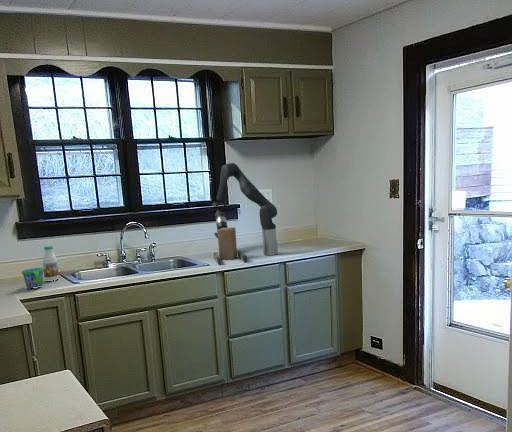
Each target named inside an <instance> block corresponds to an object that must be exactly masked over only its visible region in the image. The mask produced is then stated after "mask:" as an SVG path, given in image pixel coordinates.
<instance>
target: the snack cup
mask: <svg viewBox="0 0 512 432" xmlns="http://www.w3.org/2000/svg"><path fill="white" fill-rule="evenodd" d="M21 274H22V276H23V278H24V279H23V280H24V282H25V287H26V289H27V288H33V287H38V286H41V285H42V286H43V282H44V281H43V279H44V269H43V267H35V268H34V267H33V268H28V269H24V270H21Z"/></svg>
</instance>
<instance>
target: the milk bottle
mask: <svg viewBox="0 0 512 432" xmlns="http://www.w3.org/2000/svg"><path fill="white" fill-rule="evenodd" d="M43 249H44V255H43V259H42V268H43V269H44V271H43V279H44V281H45V280H54V279H58V278H59V279H60V275H59V274H60V273H59V264H58V259H57V256H56V255H55V252H54V246H53V245H46V246H44V247H43Z"/></svg>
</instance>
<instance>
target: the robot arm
mask: <svg viewBox="0 0 512 432" xmlns="http://www.w3.org/2000/svg"><path fill="white" fill-rule="evenodd" d="M232 177H233V178H235V179H236V181H238V183H239V189H240V191H241V193H242V195H244V196H245V197H246V198H247V199H248V200H250V201H251V202H253V203H255V204H256V205H258V206H259V207H260V208H259V221H260V222H259V223H260V226H261V231H262V232H261V233H262V247H263V248H262V250H263V251H262V253H263V256H275V255H278V254H279V247H278V239H277V226H276V224H275V223H274V222H273V219H274V218H276V217H277V216H278V209H277V207H276V206H275V204H273V203H272V202H271V201H270V200H269V199H267V198H266V197H265V196H264V195H263V193H261V192H260V191H259V189H258V188H257V187H256V186H255V185H254V183H252V182H251V181H250V180H249V179H248V177H247V176H246V175H245V174H244V173H243V171H242V170H241V169H240V167H239V165H237V164H236V163H235V162H229V163H225V164H224V165H222V166H221V170H220V178H219V187H218V190H217V195H216V200H217V201H218V202H220V203H218V202H217V201H213V202H212V203H211V206H212V205H213V206H218V205H224V206H225V205H226V206H227V199H228V198H227V197H228V194H229V187H228V181H229V178H232ZM214 216H215V225H216V230H217V231H216V232H214V237H216V238H217V239H218V229H221V228H229V227H228V221H227V217H226V214H225V211H224V212H222V211H220V210H218V209H217V211H216V213H215V215H214Z"/></svg>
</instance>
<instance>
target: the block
mask: <svg viewBox="0 0 512 432" xmlns="http://www.w3.org/2000/svg"><path fill="white" fill-rule="evenodd" d="M236 233H237V231H236V227H235V226H234V227H228V228H221V229H218V238H217V243H218V255H219V256H220V257H221V259H222V261H223V260H235V259H236V258H237V257H238V253H237V250H238V248H237V247H238V246H237V234H236Z"/></svg>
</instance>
